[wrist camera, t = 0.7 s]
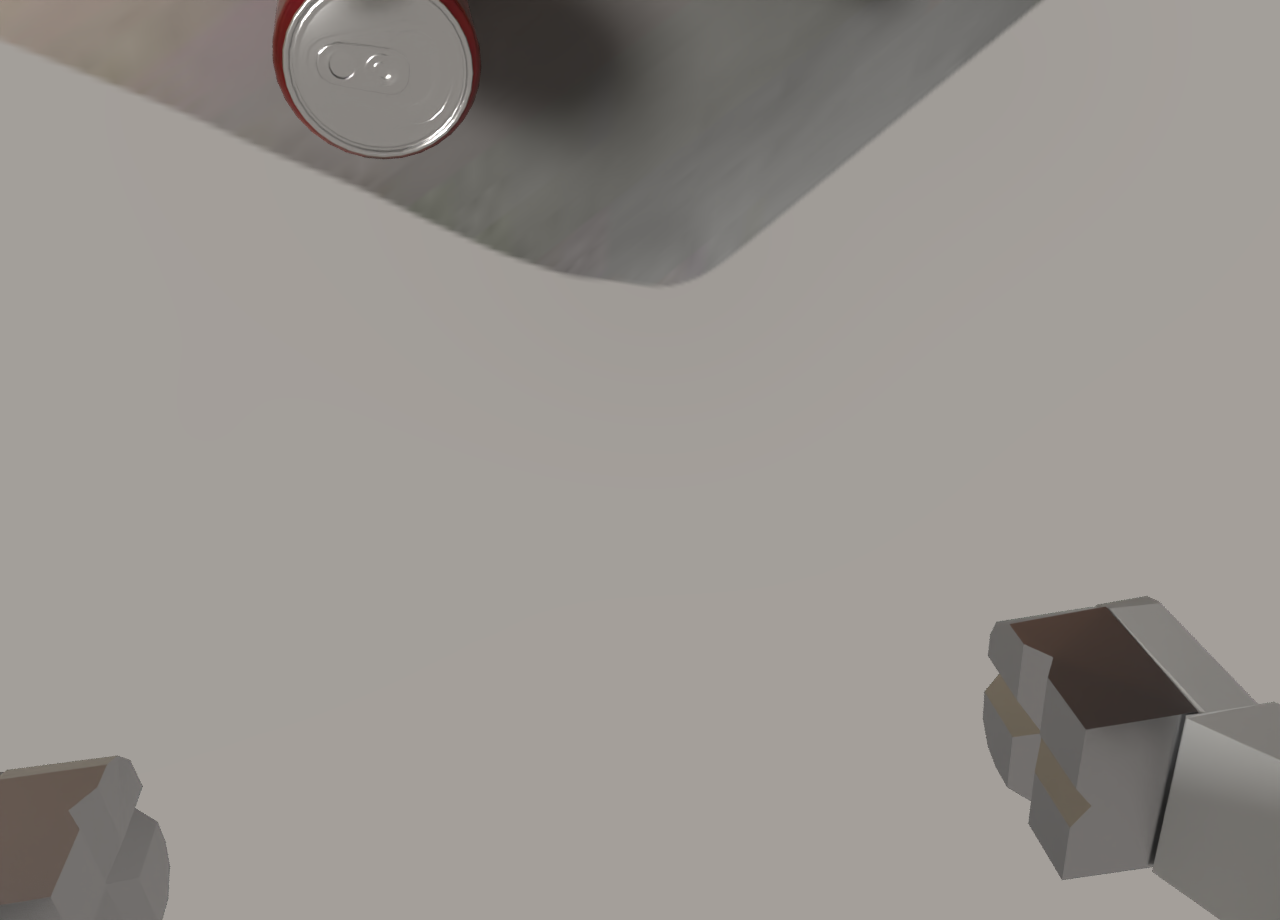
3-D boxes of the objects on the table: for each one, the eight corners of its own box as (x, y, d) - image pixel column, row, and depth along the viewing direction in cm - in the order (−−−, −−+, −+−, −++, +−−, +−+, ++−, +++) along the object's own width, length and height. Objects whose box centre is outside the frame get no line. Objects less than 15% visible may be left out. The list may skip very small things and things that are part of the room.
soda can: (470, -104, 46) (503, -7, 37) (439, 61, 50) (461, 182, 41) (292, -153, 43) (282, -62, 35) (275, 25, 48) (262, 146, 39)
